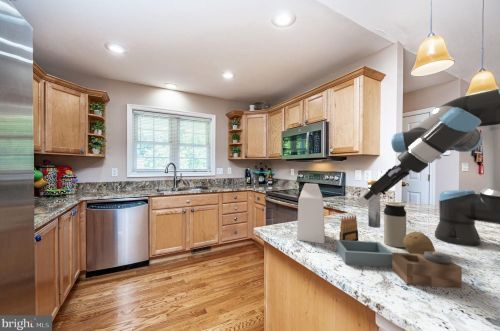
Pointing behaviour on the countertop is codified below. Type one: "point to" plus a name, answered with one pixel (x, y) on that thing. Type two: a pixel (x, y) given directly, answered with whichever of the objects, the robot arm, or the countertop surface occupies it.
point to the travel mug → (394, 224)
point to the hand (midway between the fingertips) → (362, 203)
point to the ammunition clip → (349, 229)
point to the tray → (364, 253)
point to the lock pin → (374, 209)
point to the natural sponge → (417, 243)
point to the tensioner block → (427, 269)
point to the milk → (311, 215)
